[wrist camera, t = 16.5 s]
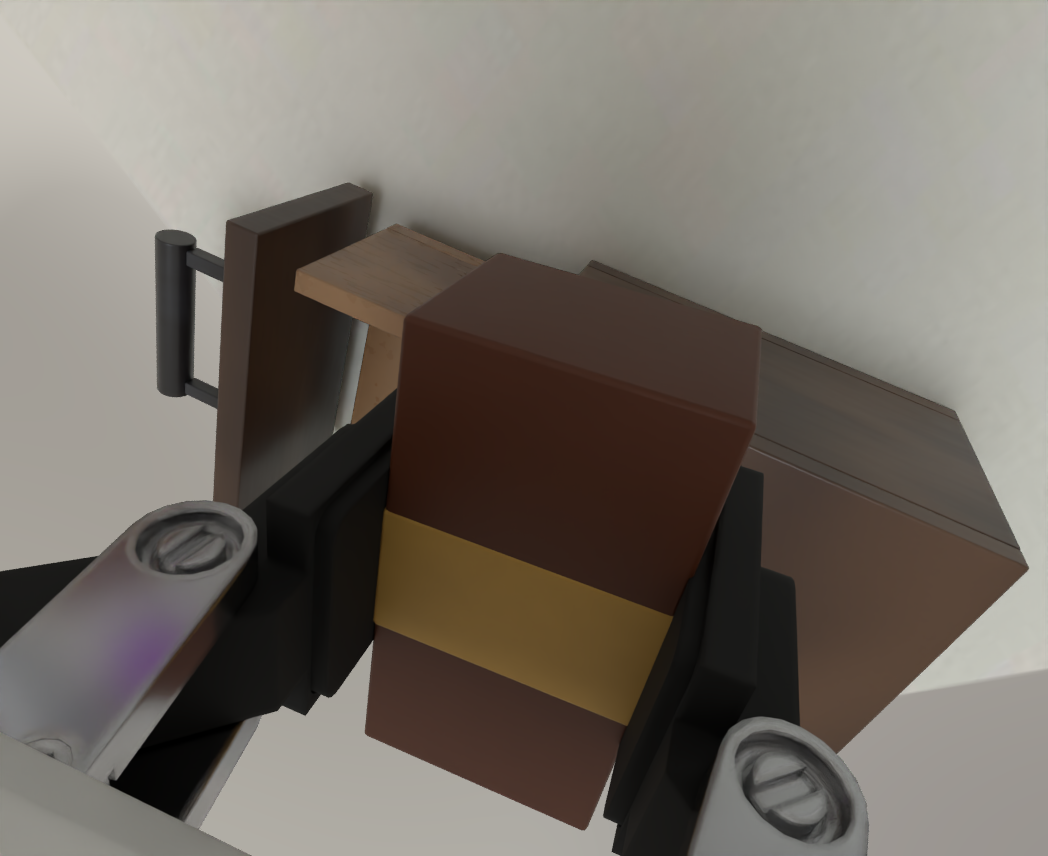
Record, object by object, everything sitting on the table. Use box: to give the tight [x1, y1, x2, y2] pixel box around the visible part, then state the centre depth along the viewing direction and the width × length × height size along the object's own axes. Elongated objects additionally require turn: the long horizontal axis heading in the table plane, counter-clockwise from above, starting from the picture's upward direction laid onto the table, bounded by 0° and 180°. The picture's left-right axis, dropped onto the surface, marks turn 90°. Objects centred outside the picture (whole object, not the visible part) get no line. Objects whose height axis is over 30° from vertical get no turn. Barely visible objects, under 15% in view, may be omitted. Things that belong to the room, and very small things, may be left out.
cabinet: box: [579, 260, 1029, 754], centre depth 26 cm, size 15×14×9 cm
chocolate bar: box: [365, 253, 762, 830], centre depth 9 cm, size 4×7×3 cm, turn 169°
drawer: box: [155, 183, 485, 510], centre depth 27 cm, size 18×13×7 cm
